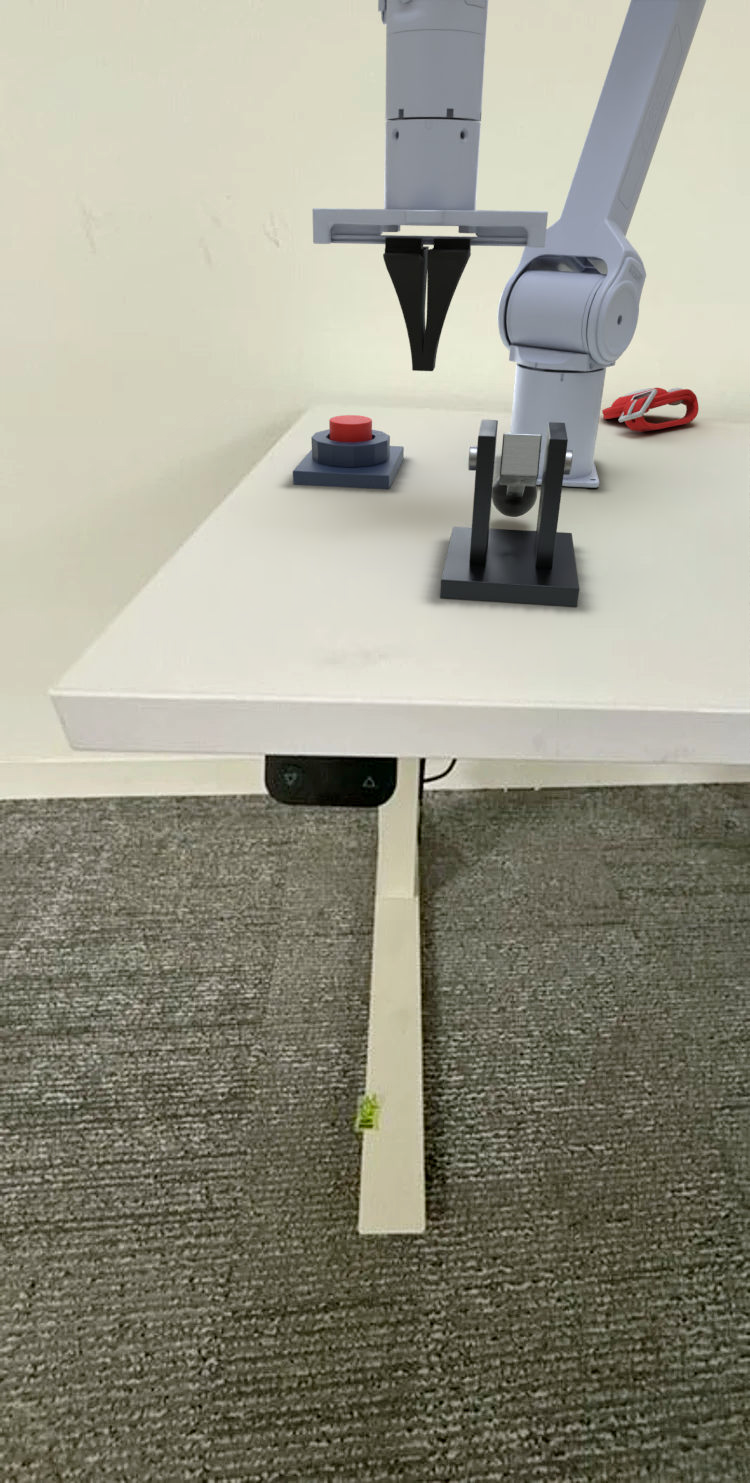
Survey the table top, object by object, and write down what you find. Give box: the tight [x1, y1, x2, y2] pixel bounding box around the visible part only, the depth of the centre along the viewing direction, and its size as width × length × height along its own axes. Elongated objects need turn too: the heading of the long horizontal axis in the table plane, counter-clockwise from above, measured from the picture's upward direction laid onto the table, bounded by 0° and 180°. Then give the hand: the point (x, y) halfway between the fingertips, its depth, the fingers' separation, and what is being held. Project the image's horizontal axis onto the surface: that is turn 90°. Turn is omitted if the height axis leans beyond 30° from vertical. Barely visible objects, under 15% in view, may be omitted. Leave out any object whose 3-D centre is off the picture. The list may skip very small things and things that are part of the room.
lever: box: [491, 432, 542, 518], centre depth 56 cm, size 13×3×3 cm, turn 172°
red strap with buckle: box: [601, 387, 699, 433], centre depth 91 cm, size 12×4×10 cm
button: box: [328, 414, 373, 442], centre depth 73 cm, size 4×4×2 cm
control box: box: [292, 428, 405, 490], centre depth 74 cm, size 10×8×3 cm
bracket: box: [439, 419, 580, 608], centre depth 53 cm, size 10×8×9 cm
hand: (423, 368), depth 59 cm, fingers closed
